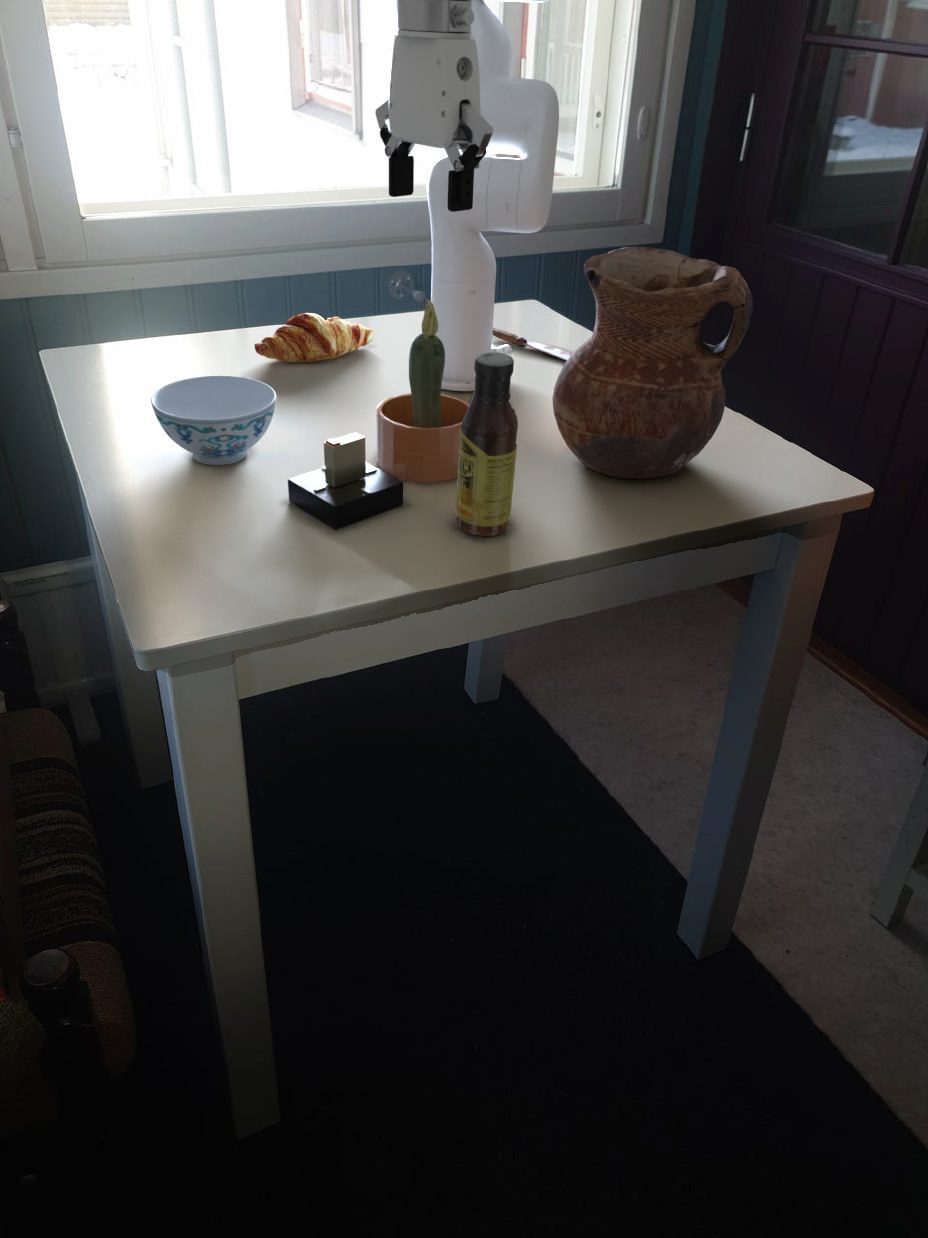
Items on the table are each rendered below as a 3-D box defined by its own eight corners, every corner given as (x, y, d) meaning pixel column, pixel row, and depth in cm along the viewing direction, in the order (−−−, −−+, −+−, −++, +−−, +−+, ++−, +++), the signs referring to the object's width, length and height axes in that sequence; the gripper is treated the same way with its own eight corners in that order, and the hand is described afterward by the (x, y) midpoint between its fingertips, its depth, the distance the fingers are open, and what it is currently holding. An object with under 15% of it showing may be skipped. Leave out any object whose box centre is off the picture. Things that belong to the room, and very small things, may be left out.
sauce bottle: (453, 513, 112) (460, 345, 101) (506, 513, 113) (519, 346, 102) (457, 541, 107) (465, 366, 96) (513, 541, 107) (527, 367, 96)
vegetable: (437, 468, 121) (441, 308, 110) (404, 464, 122) (405, 305, 111) (445, 454, 125) (450, 298, 114) (412, 450, 126) (414, 295, 115)
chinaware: (178, 428, 129) (170, 372, 125) (289, 434, 129) (286, 378, 125) (144, 476, 117) (134, 416, 113) (267, 482, 117) (262, 422, 112)
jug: (567, 496, 117) (591, 286, 103) (530, 429, 134) (547, 240, 120) (739, 490, 120) (785, 286, 107) (682, 425, 138) (714, 242, 124)
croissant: (364, 359, 166) (353, 312, 164) (392, 346, 157) (381, 297, 156) (250, 377, 155) (237, 327, 153) (274, 365, 146) (260, 311, 145)
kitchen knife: (600, 359, 158) (582, 362, 155) (598, 369, 159) (580, 372, 156) (507, 324, 170) (488, 325, 167) (505, 333, 171) (486, 335, 167)
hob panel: (356, 479, 119) (355, 455, 117) (403, 504, 113) (403, 480, 112) (288, 502, 113) (287, 477, 111) (335, 530, 107) (334, 505, 106)
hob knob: (356, 471, 113) (355, 430, 110) (366, 477, 112) (365, 435, 109) (325, 482, 111) (323, 440, 108) (334, 488, 109) (333, 445, 107)
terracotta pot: (428, 435, 131) (429, 385, 127) (491, 465, 124) (495, 413, 120) (357, 458, 124) (356, 406, 120) (420, 491, 116) (421, 437, 113)
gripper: (521, 25, 94) (509, 212, 103) (405, 16, 104) (404, 187, 114) (465, 24, 90) (458, 220, 99) (350, 15, 100) (354, 193, 109)
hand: (429, 202), depth 106 cm, fingers open, 9 cm apart
